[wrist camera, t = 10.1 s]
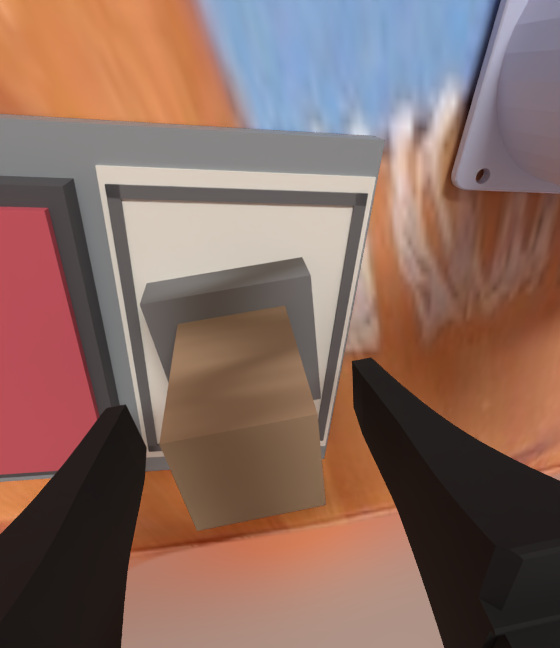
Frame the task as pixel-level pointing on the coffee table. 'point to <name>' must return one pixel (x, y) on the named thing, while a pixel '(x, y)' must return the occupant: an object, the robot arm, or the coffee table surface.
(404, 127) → the coffee table surface
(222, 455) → the stamp
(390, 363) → the coffee table surface
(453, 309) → the coffee table surface
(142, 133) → the stamp board
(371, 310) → the coffee table surface
